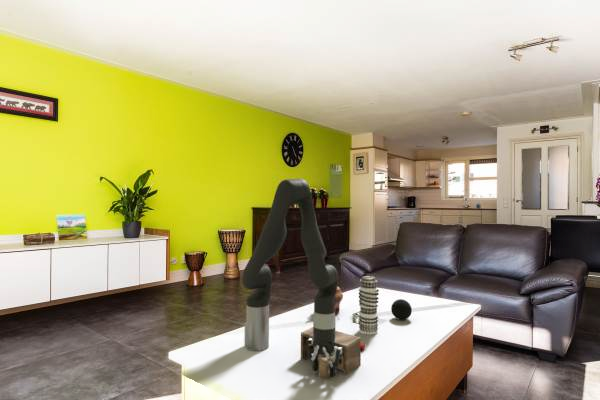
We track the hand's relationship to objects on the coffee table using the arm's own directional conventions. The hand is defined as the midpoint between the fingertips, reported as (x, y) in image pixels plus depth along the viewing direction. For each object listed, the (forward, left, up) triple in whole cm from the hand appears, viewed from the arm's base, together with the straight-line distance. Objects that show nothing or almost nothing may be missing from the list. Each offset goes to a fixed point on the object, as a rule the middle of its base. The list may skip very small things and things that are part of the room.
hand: (324, 373), depth 122 cm
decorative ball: (-4, +75, -1) cm, 75 cm away
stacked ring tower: (-9, +49, -1) cm, 50 cm away
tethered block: (0, +6, -1) cm, 6 cm away
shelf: (-5, +11, -1) cm, 12 cm away
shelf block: (-10, +11, -1) cm, 15 cm away
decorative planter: (-38, +59, -1) cm, 70 cm away
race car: (-6, +26, -2) cm, 27 cm away
